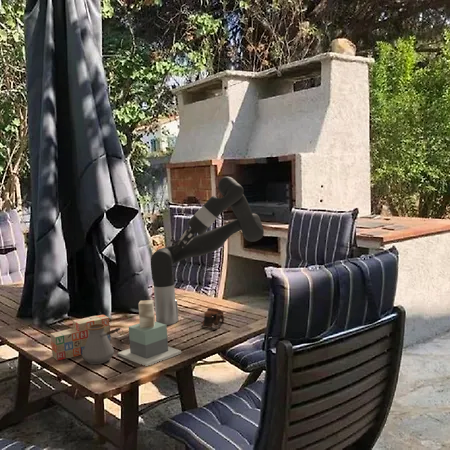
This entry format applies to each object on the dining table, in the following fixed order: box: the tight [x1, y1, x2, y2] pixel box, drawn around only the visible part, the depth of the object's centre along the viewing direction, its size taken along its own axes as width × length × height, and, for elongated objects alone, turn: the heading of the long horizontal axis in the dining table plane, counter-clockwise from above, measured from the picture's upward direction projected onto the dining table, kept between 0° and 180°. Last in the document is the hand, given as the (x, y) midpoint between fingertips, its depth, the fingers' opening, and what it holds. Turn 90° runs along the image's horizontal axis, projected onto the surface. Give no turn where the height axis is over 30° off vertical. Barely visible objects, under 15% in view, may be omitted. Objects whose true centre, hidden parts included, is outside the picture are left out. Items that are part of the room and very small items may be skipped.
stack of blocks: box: [50, 314, 112, 362], centre depth 198 cm, size 21×6×12 cm, turn 125°
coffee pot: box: [81, 324, 124, 365], centre depth 185 cm, size 21×12×15 cm, turn 46°
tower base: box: [117, 321, 182, 367], centre depth 192 cm, size 16×18×11 cm
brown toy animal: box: [201, 307, 225, 328], centre depth 224 cm, size 12×10×8 cm
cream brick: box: [138, 299, 156, 328], centre depth 191 cm, size 5×5×9 cm
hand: (174, 251), depth 200 cm, fingers open, 8 cm apart
